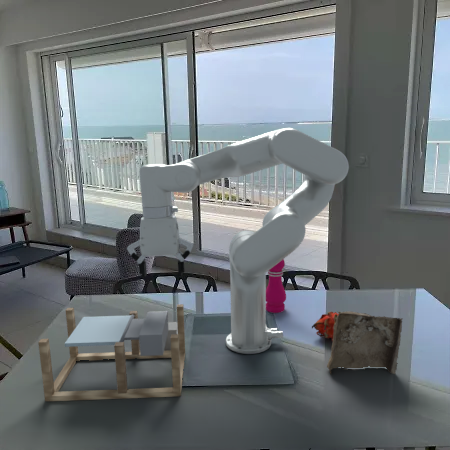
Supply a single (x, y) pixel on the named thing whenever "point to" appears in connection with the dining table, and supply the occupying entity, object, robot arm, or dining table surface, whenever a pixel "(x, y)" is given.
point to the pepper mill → (275, 289)
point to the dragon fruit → (326, 325)
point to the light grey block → (172, 330)
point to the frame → (119, 355)
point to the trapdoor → (123, 331)
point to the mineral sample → (365, 341)
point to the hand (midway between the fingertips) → (162, 275)
